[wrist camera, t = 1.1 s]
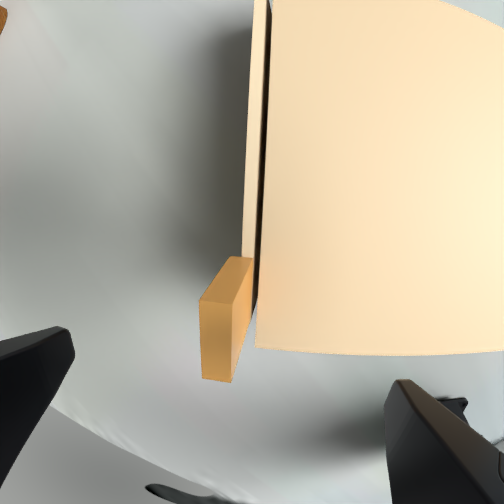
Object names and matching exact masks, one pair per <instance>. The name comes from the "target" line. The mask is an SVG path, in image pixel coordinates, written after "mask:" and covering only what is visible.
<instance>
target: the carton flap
mask: <svg viewBox="0 0 504 504" xmlns="http://www.w3.org/2000/svg"><path fill="white" fill-rule="evenodd" d="M271 33H272V13H271V8H270V3H269V0H254V15H253V31H252V48H251V66H250V84H249V103H248V122H247V142H246V163H245V185H244V208H243V232H242V257H236V256H230V257H229V258H228V259H227V261H226V262H225V264H224V265H223V267H222V268H221V269H220V271H219V272H218V274H217V275H216V277H215V278H214V279H213V281H212V282H211V284H210V285H209V287H208V288H207V289H206V291H205V292H204V294H203V295H202V297H201V298H200V300H199V320H200V346H201V367H202V378H203V379H209V380H216V381H222V382H229V383H231V381H232V378H233V375H234V371H235V368H236V365H237V362H238V358H239V355H240V352H241V348H242V345H243V342H244V338H245V335H246V332H247V328H248V325H249V324H250V322H251V318H252V315H253V311H254V308H255V304H256V301H257V297H258V288H259V271H260V254H261V237H262V219H263V200H264V182H265V163H266V143H267V123H268V102H269V80H270V57H271Z"/></svg>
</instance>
